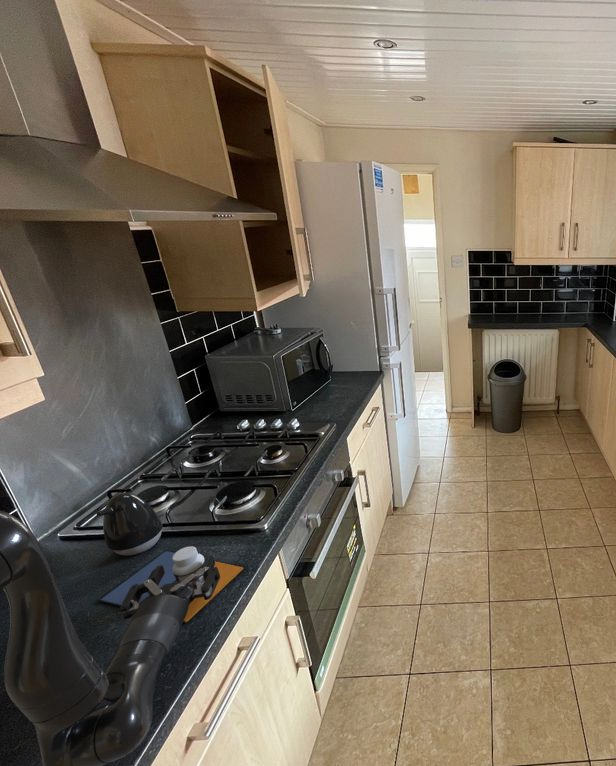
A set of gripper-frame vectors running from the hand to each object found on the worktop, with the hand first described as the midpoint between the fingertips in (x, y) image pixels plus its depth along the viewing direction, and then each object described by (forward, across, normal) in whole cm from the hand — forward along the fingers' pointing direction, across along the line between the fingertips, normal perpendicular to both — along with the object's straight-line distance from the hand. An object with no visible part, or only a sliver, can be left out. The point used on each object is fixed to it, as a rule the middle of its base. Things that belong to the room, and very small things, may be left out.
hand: (186, 563), depth 86 cm
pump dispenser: (+20, +17, +8) cm, 28 cm away
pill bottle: (0, 0, +8) cm, 8 cm away
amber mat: (+1, 0, +8) cm, 8 cm away
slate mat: (+7, +10, +8) cm, 15 cm away
